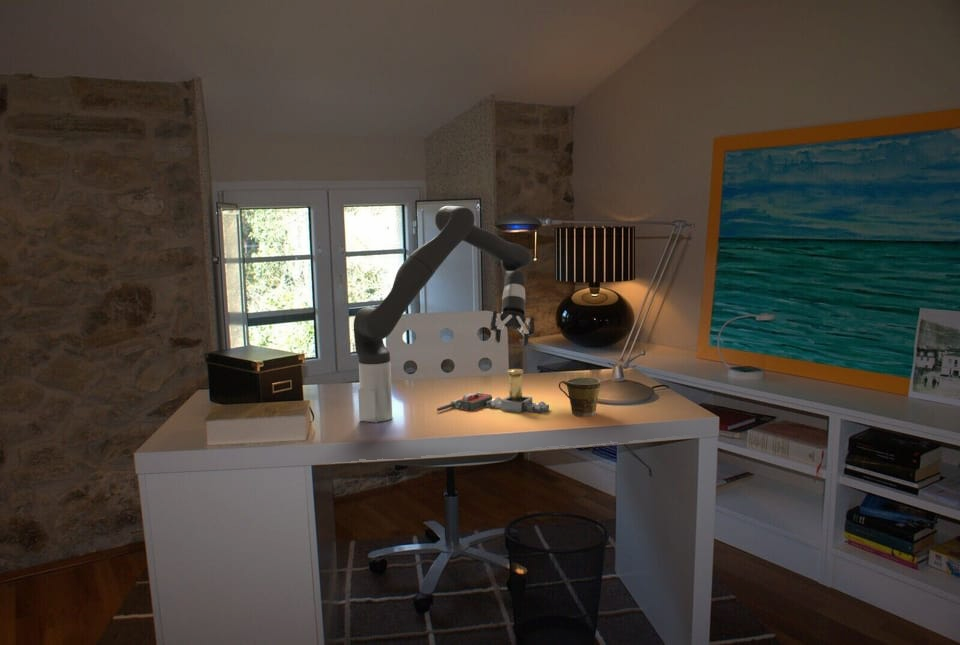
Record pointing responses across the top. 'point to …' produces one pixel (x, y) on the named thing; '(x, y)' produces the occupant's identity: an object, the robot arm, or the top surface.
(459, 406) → the walkie-talkie
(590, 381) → the ceramic cup
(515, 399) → the link pin
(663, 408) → the top surface
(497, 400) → the chain end
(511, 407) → the chain end
